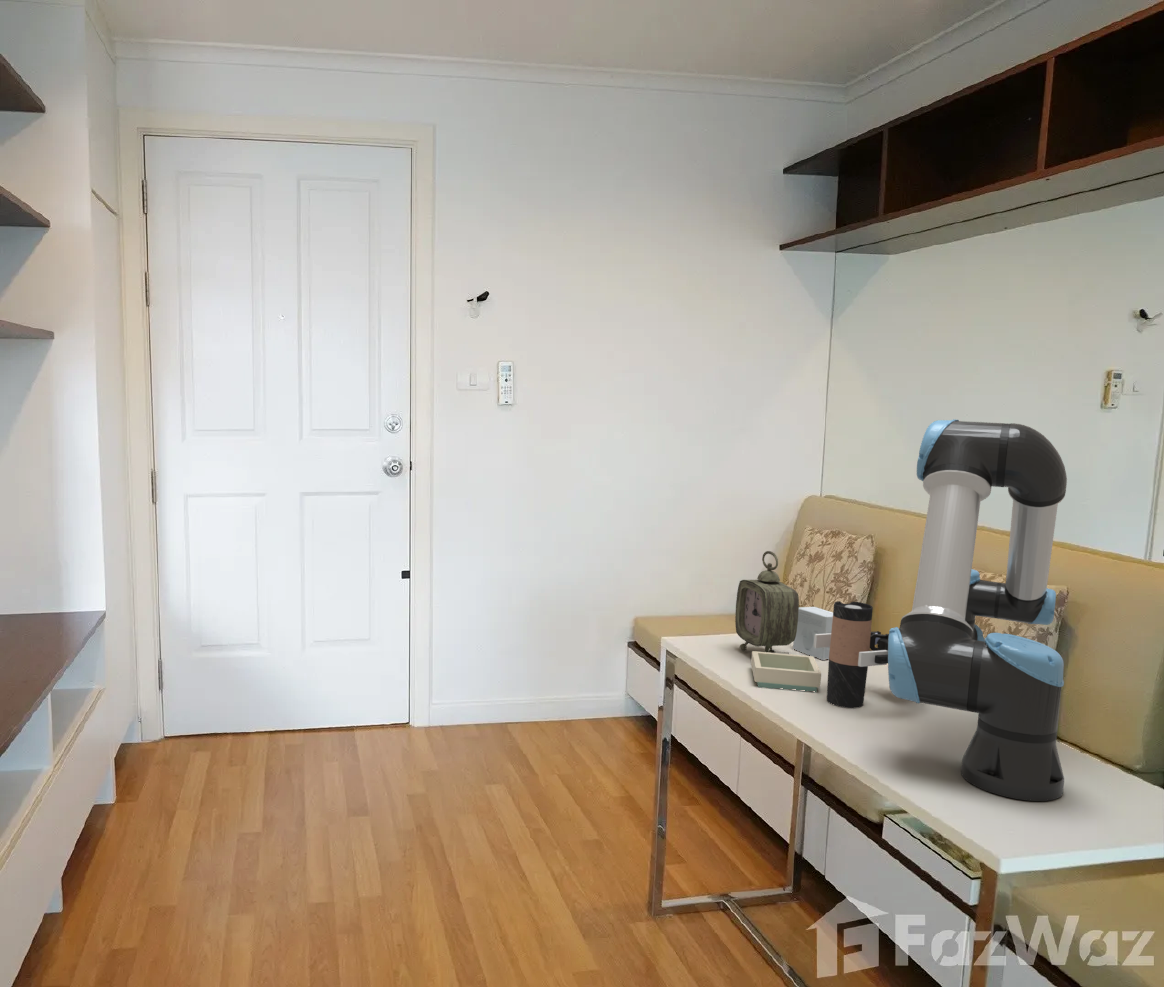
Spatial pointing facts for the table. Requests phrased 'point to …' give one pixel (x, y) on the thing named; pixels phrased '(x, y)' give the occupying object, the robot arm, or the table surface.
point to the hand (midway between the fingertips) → (836, 650)
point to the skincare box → (812, 631)
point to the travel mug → (848, 653)
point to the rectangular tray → (785, 671)
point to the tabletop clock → (766, 610)
